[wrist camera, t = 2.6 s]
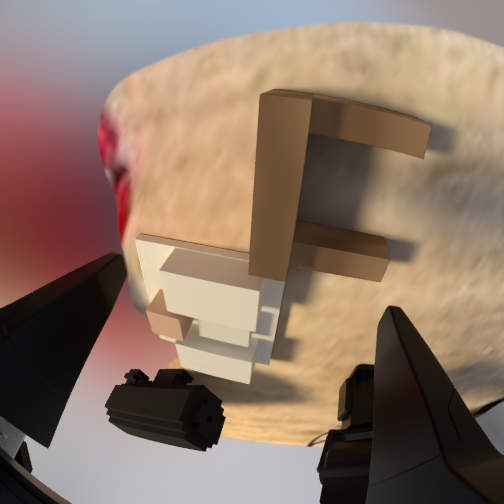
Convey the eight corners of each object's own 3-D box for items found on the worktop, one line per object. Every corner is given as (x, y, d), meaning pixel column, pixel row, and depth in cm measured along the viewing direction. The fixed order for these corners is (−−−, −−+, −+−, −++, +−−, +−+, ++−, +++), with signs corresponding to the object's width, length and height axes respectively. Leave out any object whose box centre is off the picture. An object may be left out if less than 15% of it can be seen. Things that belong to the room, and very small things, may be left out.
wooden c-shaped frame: (288, 260, 21) (281, 294, 18) (270, 358, 28) (263, 387, 26) (139, 233, 22) (117, 259, 20) (162, 332, 30) (149, 357, 27)
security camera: (118, 360, 39) (89, 411, 31) (209, 355, 31) (179, 434, 23) (147, 385, 42) (123, 434, 34) (240, 386, 34) (219, 456, 26)
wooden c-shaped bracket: (416, 117, 13) (442, 133, 10) (376, 258, 19) (383, 299, 16) (274, 88, 14) (259, 94, 11) (261, 237, 20) (248, 275, 17)
